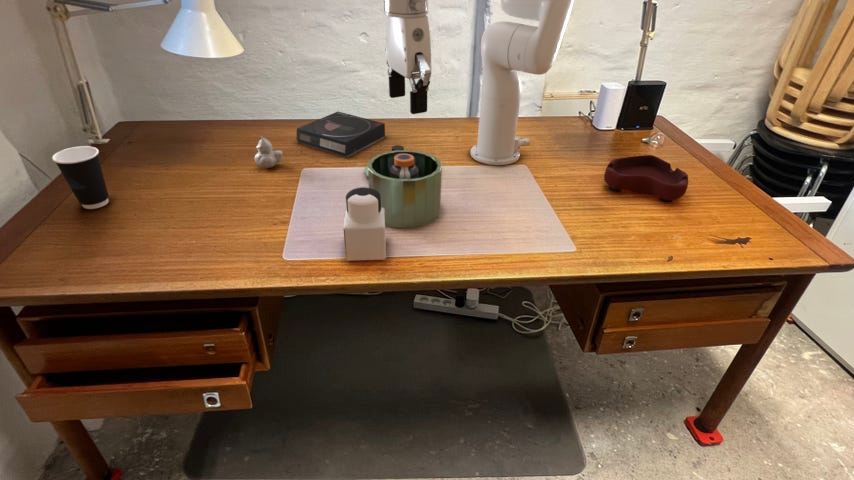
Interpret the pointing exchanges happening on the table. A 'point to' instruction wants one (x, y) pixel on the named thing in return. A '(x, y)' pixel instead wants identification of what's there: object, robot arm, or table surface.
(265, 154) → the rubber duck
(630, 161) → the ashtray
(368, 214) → the medicine bottle
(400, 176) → the pill bottle
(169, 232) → the table surface
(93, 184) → the dixie cup
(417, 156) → the tin
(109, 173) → the table surface
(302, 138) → the portable cd player
